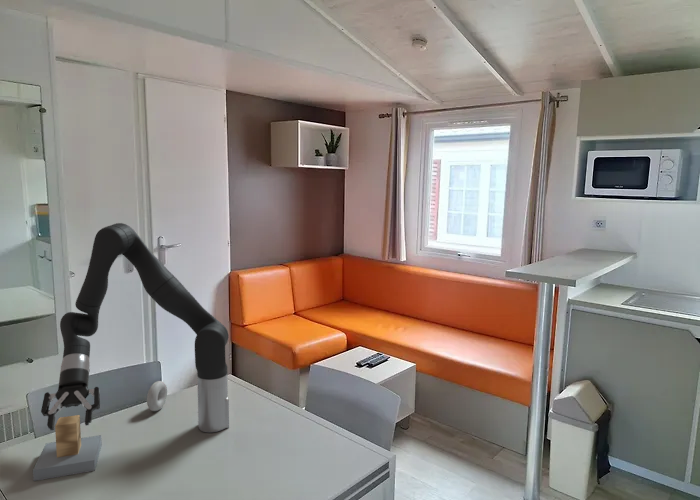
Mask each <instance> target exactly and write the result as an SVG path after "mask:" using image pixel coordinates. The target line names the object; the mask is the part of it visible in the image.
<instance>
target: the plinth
mask: <svg viewBox="0 0 700 500" xmlns="http://www.w3.org/2000/svg"><path fill="white" fill-rule="evenodd" d="M102 440H103V439H102V434H100V435H99V434H98V435H94V436H87V437H81V447H80V450H79V453H78V454H77V455H70V456H64V457H58V458H57V451H56V441H53V442H46V443H45V445H44V447H43V449H42V450H41V452H40V454H39V457H38V459H37V461H36V463H35V466H34V467H33V469H32V475H33V482H35V481H42V480H46V479H53V478H59V477H65V476H70V475H78V474H83V473H88V472H93V471H94V472H95V471H96V468H97V464H98V460H99V457H100V453H101V449H102V448H101V447H102V445H103V444H102Z"/></svg>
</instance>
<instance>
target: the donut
mask: <svg viewBox="0 0 700 500" xmlns="http://www.w3.org/2000/svg"><path fill="white" fill-rule="evenodd" d="M167 398H168V387H167V384H166V383H165V381H162V380H157V381H154V383H153V384H151V385H150V387H149V389H148V391H147V395H146V406H147V407H148V409H149V410H150V411H152V412H158V411H159V410H161V409H162V408H163V407H164V405H165V403H166V400H167Z"/></svg>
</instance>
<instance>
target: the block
mask: <svg viewBox="0 0 700 500" xmlns="http://www.w3.org/2000/svg"><path fill="white" fill-rule="evenodd" d="M54 429H55V430H54V431H55V432H54V433H55V442H56V451H57V458H58V457H64V456H70V455H77V454H78V453H79V450H80V447H81V438H82V433H81V432H82V431H81V415H80V414H77V415H76V414H75V415H70V416H61V417H58V419H57V420H56V423H55V424H54Z"/></svg>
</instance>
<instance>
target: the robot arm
mask: <svg viewBox="0 0 700 500" xmlns="http://www.w3.org/2000/svg"><path fill="white" fill-rule="evenodd" d="M91 249H92V250H91V255H90V259H89V263H88V268H87V271H86V272H87V273H86V275H85V277H84V281H83V284H82V285H81V288H80V291H79V293H78V296H77V298H76V301H75V305H74V306H75V307H76V309H77V310H79V312H73V311H69V312H66V313H65V314H63V316H62V317H61V319H60V321H59V327H60V328H59V329H60V332H61V336H62V341H63V353H62V354H63V355H62V361H61V365H60V370H59V371H60V372H59V380H58V388H57V392H55V393H50V392H49V391H47V392H45V393H44V395H43V399H42V404H41V410H40V413H41V415H42V416H43V417H47V424H46V426H47V428H48V429H49V430H50V431H55V430H54V429H55V425H56V423H55V422H56V415H57V414H59V412H61V411H62V409H63V408H67V409H68V408H70V407H79V405H81V406H82V407H83V408H84V409H85V417H84V425H85V426H89V425H90V423H92V420H93V419H92V418H93V413H94V412H95V410H100V409H101V408H100V407H101V399H100V398H101V391H100V388H99V386H95V387H94V388H91V389H89V377H90V369H91V368H90V366H91V365H90V363H91V362H90V353H91V352H90V351H91V343H90V341H89V340H88V339H86V338H83V337H92V336H93V335H94V334H95V335H96V333H97V332H98V328H99V314H100V310H101V306H102V303H103V302H104V300H105V296H106V295H107V291H108V288H109V287H108V286H109V273H110V271H111V268H112V266H113V265H114V262H115V261H116V259H117V258H118V257H119V256H121V255H122V256H124V258H126V259H127V261H128V262H130V263H131V264H132V266H133V267H134V268H135V269H136V271H137V273H138V276H139V279H140V281H141V284H142V286H143V288H144V291H145V292H146V293H147V295H149V297H150V298H152V300H154V301H153V302H155V303H156V304H157V305H158V306H159V307H161V308H162V309H163V310H164V311H166V312H167V313H169V314H171V315H173V316H174V317H177V318H178V319H180V320H182V322H184V323H186V325H188V327H190V329H192V331H193V332H194V333H195V335H196V336H195V338H194V363H195V369H196V374H197V376H196V377H197V378H196V379H197V380H196V381H197V413H198V414H197V417H198V418H197V422H198V423H197V424H198V429H199V431H201V432H204V433H217V432H220V431H223V430H225V429H228V428H230V399H229V395H228V394H229V388H228V387H229V385H228V384H229V383H228V380H229V379H228V364H227V362H226V345H227V344H228V341H229V332H228V329H227V328H226V326H225V325H224V324H223V323H222V322H220V321H219V320H218V319H217V318H216V317H214V315H212V314H211V313H210V312H208V311H207V309H205V308H204V307H203V306H202V305H201V304H200V303H199V301H198V300H197V299H196V298H195V297H194V296H193V295H192V293H191V292H190V291H188V288H186V287H185V286H184V284H182V283H181V281H180V280H179V279H178V278H177V277H176V276H175V275H174V274H173V273H172V272H170V270H168V269H167V267H166V266H165V265H164V264H163V263H162V262H161V260H159V259H158V257H156V255H154V254H153V252H152V251H151V250H150V249H149V248H148V246H147V245H146V244H145V242H144V241H143V240H142V238H141V237H140V236H139V235H138V233H137V232H136V231H135V230H134V229H133V228H132V227H131V226H130V225H128V224H127V223H123V222H117V223H114V224H110V225H107V226H105V227H102V228H101V229H100V230H98V231H97V233H96V234H95V236H94V241H93V245H92V248H91ZM89 395H91V396H92V397H93V401H94V403H93V404H90V402H88V400H87V398H88V396H89ZM54 399H56V400H57V401H56V402H55V403H54V405H53V406H52V407H51V408H50V405H51V403H52V402H53V401H54Z"/></svg>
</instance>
